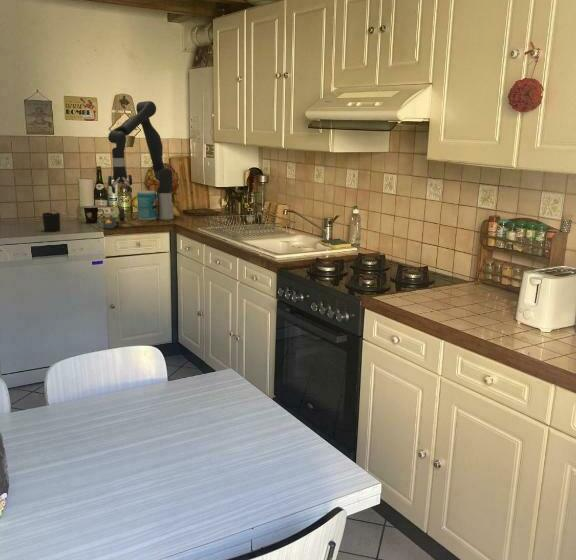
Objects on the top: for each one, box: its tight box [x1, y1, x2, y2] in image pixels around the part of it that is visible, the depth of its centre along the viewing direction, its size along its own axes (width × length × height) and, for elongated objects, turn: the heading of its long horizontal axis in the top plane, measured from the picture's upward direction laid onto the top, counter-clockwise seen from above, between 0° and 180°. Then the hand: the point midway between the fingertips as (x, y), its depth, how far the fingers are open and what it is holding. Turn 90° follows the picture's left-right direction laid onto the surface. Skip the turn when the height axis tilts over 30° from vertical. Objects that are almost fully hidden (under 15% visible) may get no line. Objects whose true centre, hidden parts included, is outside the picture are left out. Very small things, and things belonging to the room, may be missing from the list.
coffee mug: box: [83, 205, 105, 224], centre depth 387 cm, size 12×9×10 cm
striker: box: [110, 208, 130, 227], centre depth 378 cm, size 9×6×10 cm, turn 125°
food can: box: [136, 190, 158, 221], centre depth 404 cm, size 12×12×18 cm
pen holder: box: [42, 212, 61, 233], centre depth 359 cm, size 9×9×10 cm
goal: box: [97, 220, 115, 229], centre depth 374 cm, size 7×10×3 cm, turn 35°
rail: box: [120, 220, 144, 228], centre depth 383 cm, size 14×8×2 cm, turn 125°
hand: (120, 192), depth 375 cm, fingers open, 8 cm apart
